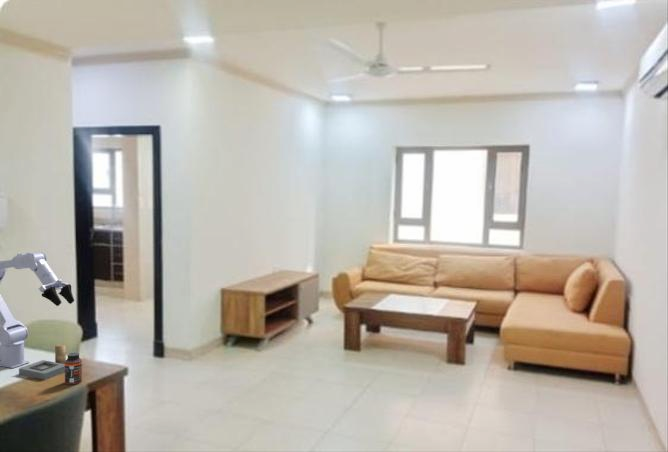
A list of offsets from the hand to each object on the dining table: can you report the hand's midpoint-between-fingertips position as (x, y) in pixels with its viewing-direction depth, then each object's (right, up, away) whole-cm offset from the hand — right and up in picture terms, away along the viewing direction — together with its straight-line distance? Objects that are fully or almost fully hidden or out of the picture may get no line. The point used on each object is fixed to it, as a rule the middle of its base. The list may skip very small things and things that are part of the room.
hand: (65, 303), depth 214 cm
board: (-10, -28, +2) cm, 30 cm away
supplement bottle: (+7, -30, -7) cm, 31 cm away
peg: (-8, -28, +12) cm, 31 cm away
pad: (-10, -27, +2) cm, 29 cm away
